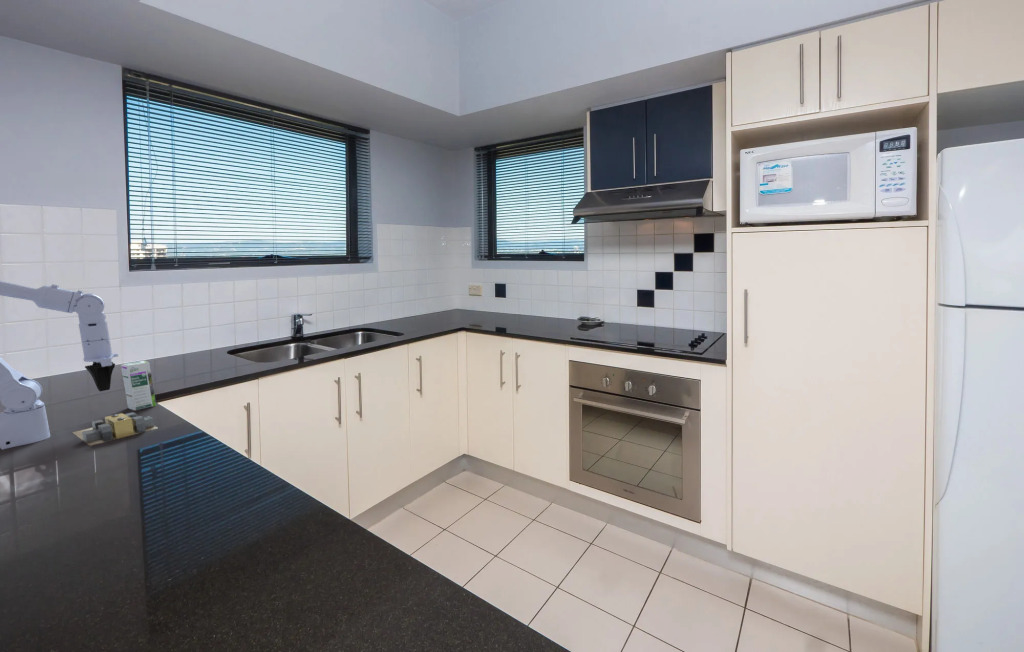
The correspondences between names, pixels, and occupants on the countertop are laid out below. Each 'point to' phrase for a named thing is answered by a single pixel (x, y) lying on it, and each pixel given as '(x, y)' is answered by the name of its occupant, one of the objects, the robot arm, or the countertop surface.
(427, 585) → the countertop surface
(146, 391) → the syrup box
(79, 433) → the board
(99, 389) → the robot arm
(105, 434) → the chain ends
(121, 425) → the link
